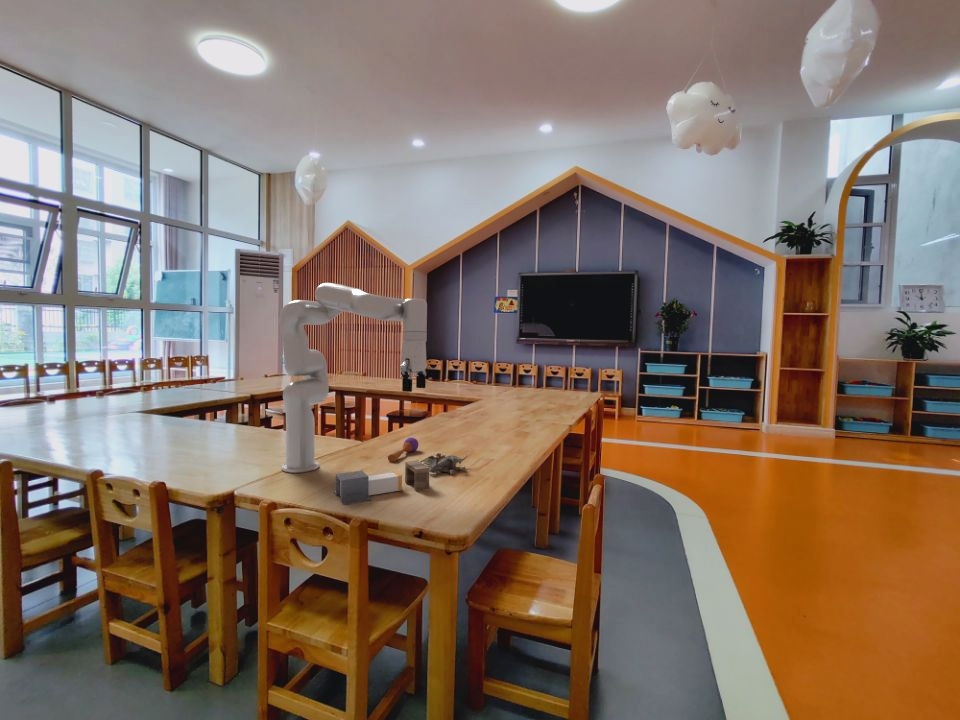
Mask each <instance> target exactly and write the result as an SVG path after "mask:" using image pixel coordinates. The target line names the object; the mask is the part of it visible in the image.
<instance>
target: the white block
mask: <svg viewBox="0 0 960 720" xmlns="http://www.w3.org/2000/svg"><path fill="white" fill-rule="evenodd" d="M368 476H369V477H368V497H370V496H372V495H373V496H375V495H380V494H386V493H392V492H400V491H403V475H402V474H401V473H399V471H392V472H385V473H381V474H373V475H368ZM340 497H341V482H340Z"/></svg>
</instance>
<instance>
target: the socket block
mask: <svg viewBox="0 0 960 720" xmlns="http://www.w3.org/2000/svg"><path fill="white" fill-rule="evenodd" d="M404 463H405V466H404V468H405V469H404V470H405V471H404V482H405V484H406V485H411V484H413V486H414V487H413V489H414V490H413V491H415V492H421V491H424V490H425V491H426V490H429V489H430V472H429V469H430V468H429V467H428V466H429V465H427V466H426V464H423V463H421V462H420V460H411V461H405V462H404Z"/></svg>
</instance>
